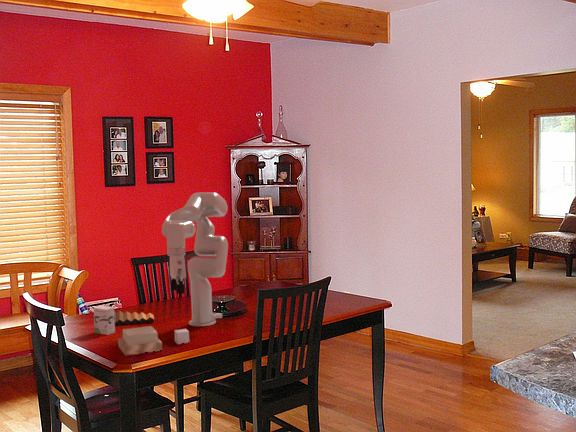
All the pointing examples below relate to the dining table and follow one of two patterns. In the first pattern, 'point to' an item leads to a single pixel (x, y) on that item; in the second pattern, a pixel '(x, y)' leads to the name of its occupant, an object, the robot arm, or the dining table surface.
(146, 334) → the tower top
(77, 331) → the dining table surface
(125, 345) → the tower base
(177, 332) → the cube
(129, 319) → the pan flute
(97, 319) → the ink box
